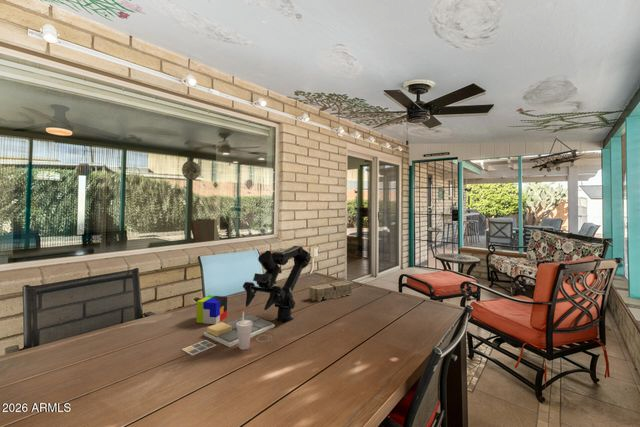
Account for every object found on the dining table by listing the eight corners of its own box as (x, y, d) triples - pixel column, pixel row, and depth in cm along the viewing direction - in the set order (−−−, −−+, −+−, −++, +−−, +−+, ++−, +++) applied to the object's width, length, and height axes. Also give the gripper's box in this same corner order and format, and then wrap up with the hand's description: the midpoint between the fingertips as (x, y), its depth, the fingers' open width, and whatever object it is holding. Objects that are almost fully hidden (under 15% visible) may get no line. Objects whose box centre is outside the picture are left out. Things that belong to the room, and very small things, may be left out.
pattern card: (205, 340, 120) (205, 339, 120) (216, 345, 116) (216, 344, 116) (182, 349, 112) (182, 348, 112) (192, 355, 108) (192, 354, 108)
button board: (249, 318, 146) (249, 313, 145) (274, 326, 136) (274, 322, 136) (203, 335, 125) (204, 330, 125) (229, 347, 115) (229, 342, 115)
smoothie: (237, 343, 118) (238, 309, 118) (253, 343, 119) (254, 309, 119) (234, 351, 112) (234, 314, 112) (251, 351, 113) (251, 314, 112)
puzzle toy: (215, 324, 137) (216, 303, 136) (196, 322, 139) (196, 301, 138) (226, 316, 146) (227, 296, 146) (208, 314, 148) (209, 295, 148)
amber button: (221, 326, 131) (221, 322, 131) (231, 331, 127) (232, 326, 127) (207, 332, 125) (207, 327, 125) (217, 336, 121) (217, 331, 121)
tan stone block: (316, 304, 173) (353, 294, 189) (316, 289, 172) (354, 281, 189) (308, 300, 179) (346, 291, 196) (309, 286, 179) (346, 279, 195)
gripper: (245, 263, 130) (228, 295, 120) (282, 267, 123) (267, 301, 113) (255, 277, 137) (240, 308, 127) (291, 282, 130) (277, 315, 120)
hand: (255, 308), depth 122 cm, fingers open, 9 cm apart
